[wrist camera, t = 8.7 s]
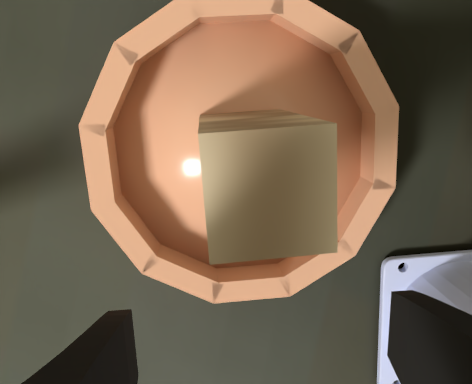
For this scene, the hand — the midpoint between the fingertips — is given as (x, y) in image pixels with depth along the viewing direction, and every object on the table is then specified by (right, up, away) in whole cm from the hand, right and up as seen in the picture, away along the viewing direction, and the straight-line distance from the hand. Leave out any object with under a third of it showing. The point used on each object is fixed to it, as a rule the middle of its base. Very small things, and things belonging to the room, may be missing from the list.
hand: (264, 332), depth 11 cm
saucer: (-1, +6, +8) cm, 10 cm away
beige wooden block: (0, +6, +7) cm, 9 cm away
